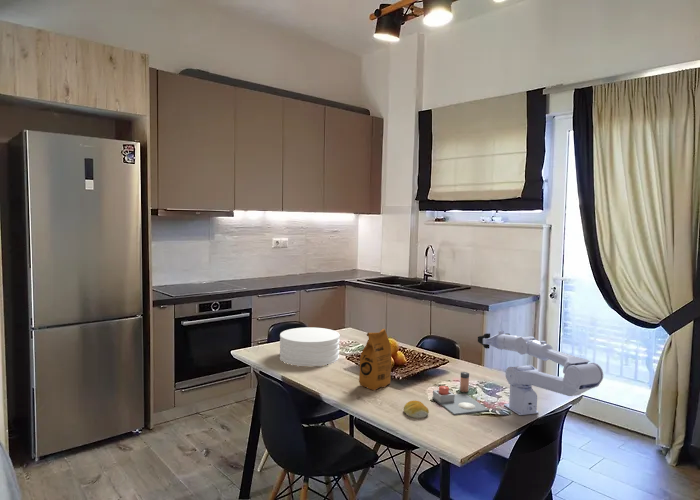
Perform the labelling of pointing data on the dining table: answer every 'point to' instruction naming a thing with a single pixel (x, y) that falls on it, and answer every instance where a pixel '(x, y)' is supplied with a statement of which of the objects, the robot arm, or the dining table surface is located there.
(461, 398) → the board
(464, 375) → the spice jar
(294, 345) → the plate stack
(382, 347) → the coffee package
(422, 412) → the bread roll
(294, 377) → the dining table surface
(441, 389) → the button
